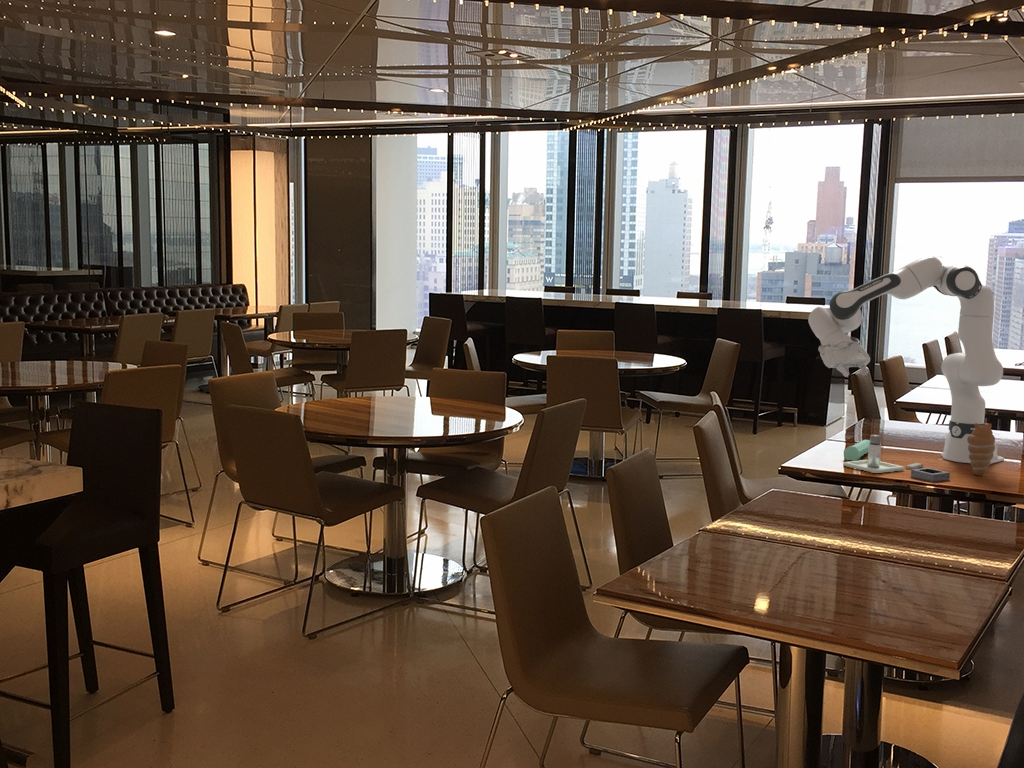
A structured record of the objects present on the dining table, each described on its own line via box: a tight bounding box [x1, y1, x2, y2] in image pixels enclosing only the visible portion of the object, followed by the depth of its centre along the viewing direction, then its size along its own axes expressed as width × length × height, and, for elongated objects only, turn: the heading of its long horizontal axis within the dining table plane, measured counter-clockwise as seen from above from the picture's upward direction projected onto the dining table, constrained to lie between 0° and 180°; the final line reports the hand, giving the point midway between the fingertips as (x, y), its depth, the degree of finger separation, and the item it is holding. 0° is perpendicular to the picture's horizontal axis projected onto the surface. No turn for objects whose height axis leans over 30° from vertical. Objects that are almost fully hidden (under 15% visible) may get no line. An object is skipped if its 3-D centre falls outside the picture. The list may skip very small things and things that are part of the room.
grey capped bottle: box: [867, 434, 882, 468], centre depth 334 cm, size 4×4×11 cm
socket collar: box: [910, 467, 951, 483], centre depth 320 cm, size 8×8×2 cm
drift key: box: [905, 462, 924, 471], centre depth 338 cm, size 8×2×2 cm, turn 134°
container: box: [843, 439, 870, 461], centre depth 358 cm, size 6×6×25 cm
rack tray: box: [842, 459, 905, 473], centre depth 334 cm, size 14×14×2 cm
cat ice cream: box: [967, 423, 996, 477], centre depth 326 cm, size 9×8×18 cm
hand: (856, 374), depth 343 cm, fingers open, 8 cm apart
